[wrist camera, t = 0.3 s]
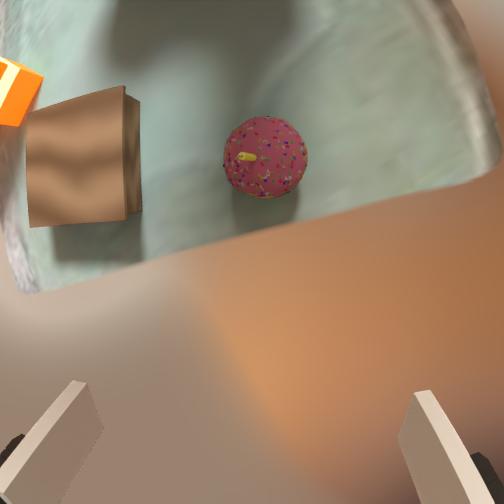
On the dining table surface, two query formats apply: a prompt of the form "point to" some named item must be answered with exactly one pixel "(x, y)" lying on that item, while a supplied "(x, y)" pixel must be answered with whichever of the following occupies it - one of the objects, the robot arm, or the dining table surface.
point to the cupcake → (265, 157)
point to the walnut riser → (84, 160)
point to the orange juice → (16, 91)
